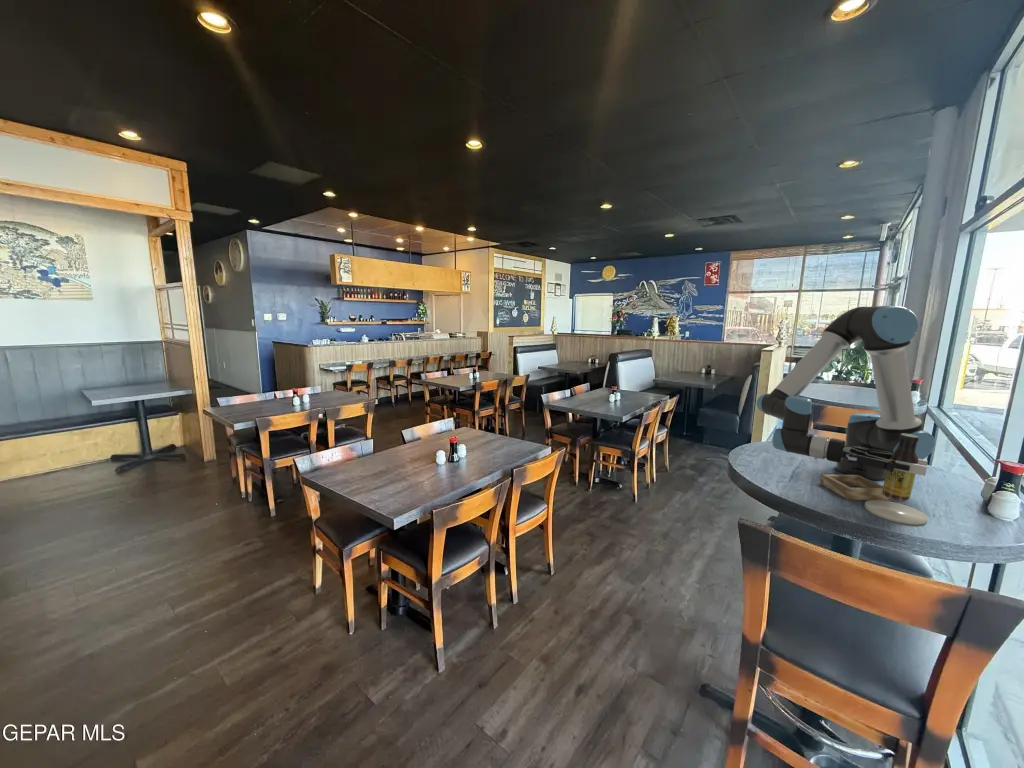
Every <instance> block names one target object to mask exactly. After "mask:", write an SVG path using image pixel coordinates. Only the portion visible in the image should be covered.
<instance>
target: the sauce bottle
mask: <svg viewBox="0 0 1024 768" xmlns="http://www.w3.org/2000/svg"><path fill="white" fill-rule="evenodd" d="M918 440H919V437H918V436H916V435H912V434H905V433H902V434H900V442H899V446H898V448H897V449H896V451H895V452H894V453H893V455H892V456H891V458H890V459H889V460H893V461H895V463H896V460H898V461H903V462H908V463H913V464H918V457H917V455H916V453H915V450H916V445H917V442H918ZM916 475H917V474H914V473H909V472H904V471H899V470H894V471H893V472H890V470H887V472H886V476H885V479H884V481H883V485H882V486H883V495H884V496H886V497H888V498H889V499H892V500H894V501H898V502H899V501H900V502H907V501H909V500H910V497H911V495H912V491H913V487H914V483H915V478H916Z"/></svg>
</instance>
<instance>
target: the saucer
mask: <svg viewBox="0 0 1024 768" xmlns="http://www.w3.org/2000/svg"><path fill="white" fill-rule="evenodd" d="M864 508H865V510H866V511H868V512H869V513H870V514H872V515H874V516H876V517H878V518H881V519H884V520H887V521H889V522H890V521H891V522H894V523H898V524H902V525H903V524H904V525H910V526H923V525H926V524H927V522H928V516H927V514H925V513H924V512H922V511H921V510H919V509H917V508H914V507H912V506H909V505H906V504H902V503H898V502H894V501H890V500H865V503H864Z"/></svg>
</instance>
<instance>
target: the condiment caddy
mask: <svg viewBox="0 0 1024 768" xmlns="http://www.w3.org/2000/svg"><path fill="white" fill-rule="evenodd" d="M819 482H820V485H822V486H824V487H826V488H827V489H830V490H831V491H833V492H834V493H835V494H836V493H837V494H838V495H839V496H842V497H843V498H845V499H847V500H851V501H852V500H856V501H858V500H860V501H861V500H862V501H863V500H865V501H868V500H884V501H890V498H888V497H886V496H884V495H883V485H880V484H879V483H876V482H874V481H873V480H871V479H866V478H864V477H862V476H860V475H848V474H833V473H832V474H831V473H830V474H825V473H823V474H821V476H820V481H819ZM851 486H853V487H851Z"/></svg>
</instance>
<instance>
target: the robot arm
mask: <svg viewBox="0 0 1024 768" xmlns="http://www.w3.org/2000/svg"><path fill="white" fill-rule="evenodd" d="M918 331H919V320H918V317H917V316H916V314H915V313H914V312H913V311H912V310H911V309H908V308H907V307H905V306H896V305H879V306H878V305H877V306H858V307H854V308H851V309H849V310H847V311H845V312H843V313H842V314H841V315H839V316H838V317H836V318H835V319H834V320H833V321H832V322H831V323H830V324H828V326H827V327H825V329H823V331H822V332H821V333H820V334H821V335H820V336H821V337H820V338H819V340H818V341H817V342H816V343H815V344H814V345H813V346H812V347H811V348H810V349H809V350H808V352H807V353H806V354H805V355H804V356H803V357H802V358H801V359H800V360H799V362H797V364H796V365H795V366H794V367H792V369H791V370H790V371H789V372H788V373H787V375H786V376H785V377H784V378H783V379H782V380H781V381H780V382H779V383H778V384H777V385H776V387H774V389H773V390H772V391H771V392H770V393H764V394H761V395H760V396H758V398H757V399H756V406H757V409H758V410H759V411H760V412H762V413H764V414H766V415H767V416H770V417H771V416H772V417H774V418H777V419H778V420H781V421H782V426H781V428H776V429H775V430H774V432H773V436H772V441H771V442H772V443H771V444H772V446H773V448H774V449H776V450H779V451H783V452H786V453H792V454H797V455H802V456H806V457H811V458H813V459H814V460H818V459H821V460H825V459H826V460H827V461H830V462H834V463H836V465H835V469H836V470H838V471H839V472H840V473H842V474H844V475H860V476H862V477H864V478H866V479H868V480H871V481H874V480H876V481H879V480H880V481H881V480H885V476H886V472H887V470H890V472H893V471H894V470H899V471H904V472H909V473H914V474H916V475H918V476H919V475H920V476H926V474H927V473H926V472H927V468H928V462H929V461H928V460H926V459H927V458H928V457H929V456H930V454H932V452H933V450H934V448H935V445H936V439H935V437H934V435H932V434H931V433H930V432H928V431H927V430H926V431H925V430H924V427H923V423H922V422H923V421H922V420H921V419H920V418H919V417H916V415H915V411H914V403H913V402H914V401H913V396H912V390H911V381H910V375H909V369H908V361H907V354H906V349H907V348H908V347H909V346H910V345H911V340H913V338H914V337H915V336H916V333H917V332H918ZM858 341H862V347H863V350H864V351H865V352H867V353H869V354H870V358H871V359H870V361H871V365H872V372H873V377H874V384H875V390H876V398H877V404H878V408H879V414H877V413H875V414H874V413H852V414H851V415H850V416H849V419H848V422H847V427H846V428H847V429H846V434H845V435H846V436H845V440H844V439H840V438H835V437H831V438H829V436H825V435H820V434H819V435H818V434H813V433H809V428H810V421H811V417H812V416H811V415H812V411H813V410H812V407H813V406H812V405H813V401H812V399H811V398H809V397H804V396H800V395H801V394H802V393H803V392H804V391H805V390H806V389H807V388H808V386H810V384H811V383H812V382H813V381H814V380H815V379H816V378H817V377H818V376H819V375H820V374H821V373H822V372H823V370H824V369H826V367H827V366H828V365H829V364H830V363H831V362H832V361H833V360H834V359H835V358H836V357H837V355H839V353H841V351H842V350H847V349H849V348H850V347H851V345H852V344H853V343H856V342H858ZM902 433H905V434H912V435H916V436H918V437H919V440H918V442H917V445H916V450H915V453H916V455H917V457H918V464H913V463H908V462H903V461H898V460H896V463H895V461H893V460H889V459H890V458H891V456H892V455H893V453H894V452H895V451H896V449H897V448H898V446H899V442H900V434H902Z"/></svg>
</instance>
